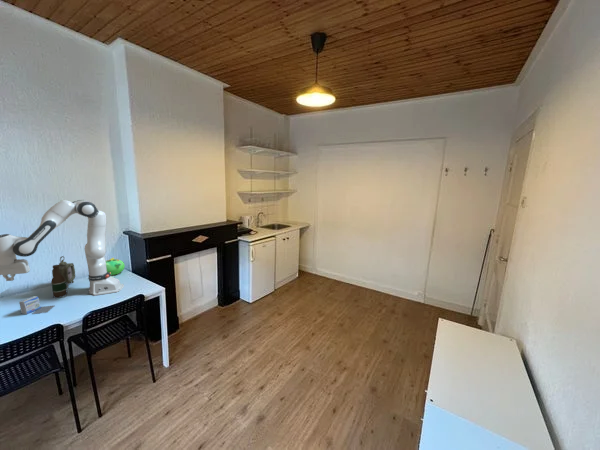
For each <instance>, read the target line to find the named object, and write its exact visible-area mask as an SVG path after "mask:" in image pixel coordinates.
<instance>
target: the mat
mask: <svg viewBox="0 0 600 450" xmlns="http://www.w3.org/2000/svg"><path fill="white" fill-rule="evenodd" d="M40 307H41V308H40V309H38V310H35V311H33V312H31V314H32V315H35V314H37V315H38V314H46V313H48V312H49V311H51V310H52V309H53V308H54V307H56V305H47V306H46V305H45V306H40Z"/></svg>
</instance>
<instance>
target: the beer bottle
mask: <svg viewBox="0 0 600 450" xmlns="http://www.w3.org/2000/svg"><path fill="white" fill-rule="evenodd" d="M52 270H53V273H54V276H53V275H52V278H51V281H50V283H51V287H52V294H53V297H54V298H55V299H56V298H63V297H65V296H67V294H68V288H67V287H66V284H67V283H66V281H65V278H64V276H62V275H61V273H60V269H59V264H53V265H52Z"/></svg>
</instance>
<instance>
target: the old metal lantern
mask: <svg viewBox="0 0 600 450" xmlns="http://www.w3.org/2000/svg"><path fill="white" fill-rule="evenodd" d="M62 258H63V259H62ZM58 265H59V269H60V273H61V275H62V276H64V278H65V281H66V287H67V289H69V286H68V284H71V283H75V281H74V280H75V278H76V268H75V265H74V263H73V262H69V263H68V262H67V261H65V256H64V255H63V256H60V257H59V263H58ZM51 271H52V272H51V274H52V277H53V276H54V273H53V269H52V270H51Z"/></svg>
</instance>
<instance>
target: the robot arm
mask: <svg viewBox="0 0 600 450" xmlns="http://www.w3.org/2000/svg"><path fill="white" fill-rule="evenodd" d="M74 214H78V215H81V216H83V217H86V218H87V220H88V221H87V228H86V229H87V230H86V238H87V240H86V242H87V243H86V244H84V254H85V259H86V263H87V270H88V282H89V290H88V294H90V295H92V296H95V297H96V296H101V295H108V294H114V293H119V292H120V291H122V290H123V289H124V287H125V285H124V283H121V282H120V280H119V279H118V278H116V277H114V276H113V275H110V274H111V272H110V273H108V272H107V268H106V261H107V260H106V258H105V257H106V252H107V251H106V248H107V243H106V242H107V241H106V240H107V239H106V233H107V223H108V222H107V214H106V212H105V211H103V210H99V209H98V208H97V206H96V205H95V204H94V203H92V202H91V201H89V200H86V199H78V200H75V201H70V200H67V199H62V200H60V201H58V202H57V203H55V204H54V205H52V206H51V207H50V208H49V209H48V210H46V211H45V213H44V214H42V217H41V220H40V224H39V226H38V227H37V229H35V230H34V231H33V232H32V233H31V234H30V235H29V236H28V237H26V236H17V235H16V236H15V235H13V234H11V233H10V234H9V233H5V234H0V276H2V277H3V278H4V279H5V281H6V282H10V281H11V282H12V281H14V280H15V276H16V275H20V274H22V275H23V274H27V273H29V272H30V271H31V268H30V265H29V261H28V260H27V259H24V258H23V257H30V256H32V255H34V254H35V253H36V252H37V251H38V246H39V245H40V243H41V242H42V241H44V239H46V237H47V236H48V235H49V234H51V232H53V231H54V230H55V229H57V228H58V227H59V226H61V225H62V224H63V223H65V222H66V220H67V219H69V218H70V216H72V215H74ZM17 256H18V257H22V259H20V258H19V259H17ZM9 275H10V277H9Z"/></svg>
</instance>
